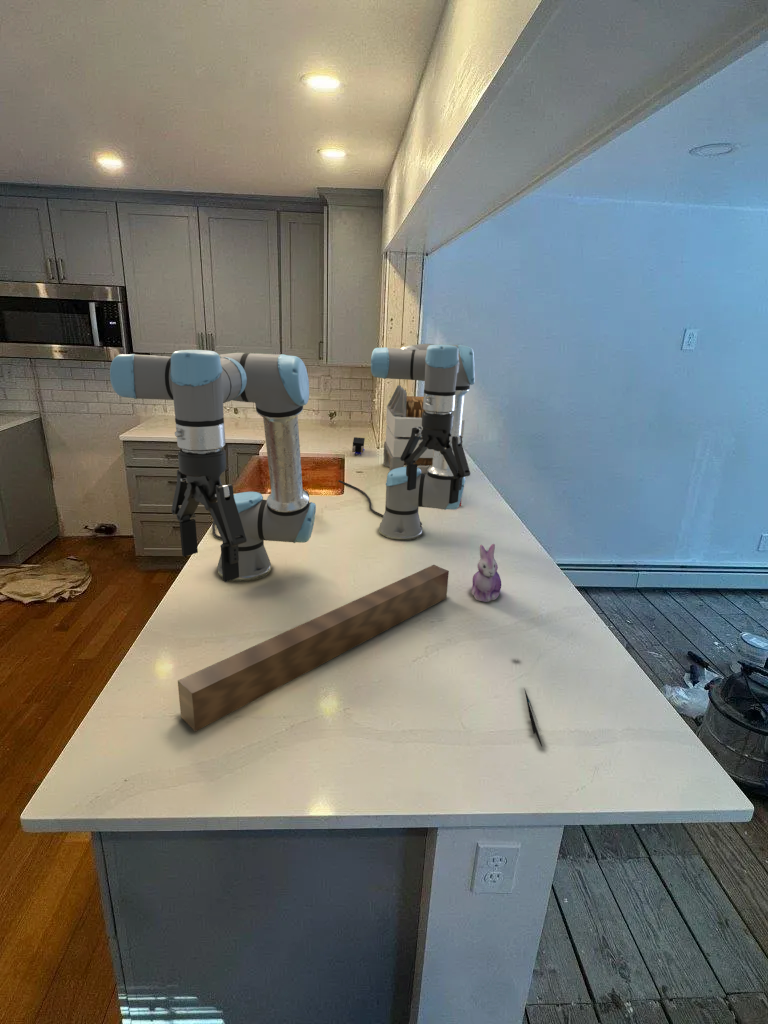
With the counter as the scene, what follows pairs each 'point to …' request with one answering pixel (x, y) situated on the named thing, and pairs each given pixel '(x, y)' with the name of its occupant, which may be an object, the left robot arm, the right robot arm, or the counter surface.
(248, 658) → the bar
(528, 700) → the feather
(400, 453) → the transformer
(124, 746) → the counter surface
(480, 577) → the figurine
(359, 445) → the figurine character
